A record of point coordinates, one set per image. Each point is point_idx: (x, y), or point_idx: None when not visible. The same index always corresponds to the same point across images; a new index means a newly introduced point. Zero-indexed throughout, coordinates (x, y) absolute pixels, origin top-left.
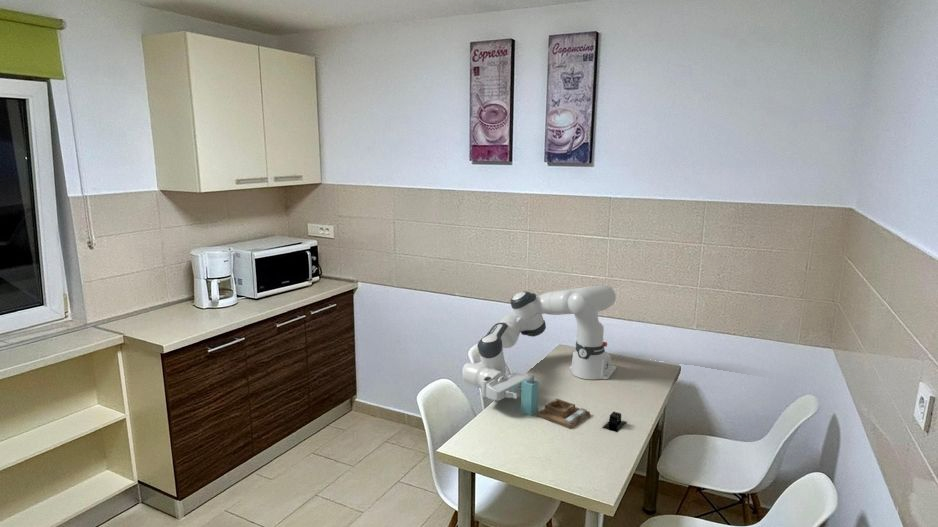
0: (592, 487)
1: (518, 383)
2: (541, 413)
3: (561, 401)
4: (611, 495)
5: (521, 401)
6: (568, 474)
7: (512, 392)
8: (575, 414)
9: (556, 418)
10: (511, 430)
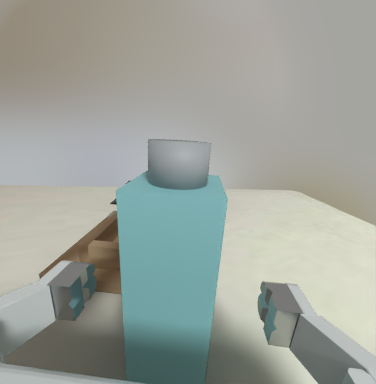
0: (295, 197)
1: (57, 374)
2: None
3: (102, 232)
4: (285, 190)
5: (209, 337)
6: (307, 208)
7: (313, 320)
8: None
9: None
10: (366, 327)
